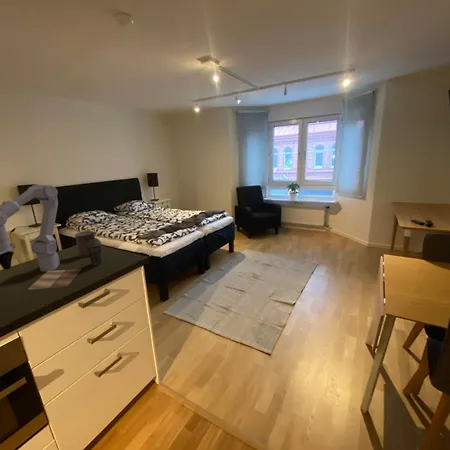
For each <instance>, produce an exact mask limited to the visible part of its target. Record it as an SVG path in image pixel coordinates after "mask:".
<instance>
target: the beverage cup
mask: <svg viewBox="0 0 450 450" xmlns="http://www.w3.org/2000/svg"><path fill="white" fill-rule="evenodd" d="M93 232H94V238H91V239H90V240H88V242H87V249H88V251H89V255H90V257H89V258H90V262H91V265H92V266H94V267H95V266H97V267H98V266H101V265H102V264H103V253H102V252H103V251H102V249H103V248H102V247H103V243H102V241H101V240H100V239H99V238H97V237H96V230H95V229H93Z"/></svg>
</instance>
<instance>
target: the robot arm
mask: <svg viewBox="0 0 450 450" xmlns="http://www.w3.org/2000/svg"><path fill="white" fill-rule="evenodd" d="M58 193H59V192H58V190H57V188H56V187H55V186H54V185H52V184H36V183H35V184H33V185H32V186H29V187H28V188H27V189H26V190H25V191H24V192H23V193H21V194H20V195H19V196H17V197H16V198H15V199H13V200H7V201H6V200H4V201H2V202H1V203H2V204H0V266H1V268H2V269H3V270H4V271H5V270H10V269H11V268H12V261H13V260H12V258H13V256H14V254H15V253H14V251H13V250H12V249H15V248H16V247H17V246H16V243H10V240H9V237H8V232H7V230H6V223H7V222H8V220H9V219H10V218H11V217H12V216H14V215H15V214H17V213H18V212H19V211H20V208H21V206H23V205H25V204H26V203H28V202H30V201H31V200H33V199H35V198H36V199H38V200H39V201H41V202H42V204H43V205H44V206H43V212H42V218H41V222H40V223H41V224H40V229H39V235H38V236H37V237H35V238H34V241H33V243H32V244H31V251H32V252H33V253H35V255H36V257H37V261H38V265H39V269H40V270H39V271H40V272H45V273H46V272H47V271H55V270H56V269H57V268H58V266H59V265H61V263H60V262H61V261H60V257H59V253H57V252H56V251H57V249H58V248H57V246H58V245H57V240H56V239H55V238H54V236H53V235H54V229H55V225H56V218H57V212H58V206H59V200H58Z"/></svg>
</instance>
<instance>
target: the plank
mask: <svg viewBox="0 0 450 450" xmlns="http://www.w3.org/2000/svg"><path fill="white" fill-rule="evenodd" d="M66 270H67V269H61V270H58V269H57V270H56V269H54V270H51V271H46V272H45V273H43V275H41V276H40V277H39V278H38V279H37V280H36V281H35V282H34V283H32V285H30V286H29V287H28V288H26V290H27V291H35V290H44V289H50V287H51V286H52V285H53V284H54V283H55V282H56V281H57V280H58V279H59V278H60V277H61V276H62V275H63V273H64V272H65V271H66Z"/></svg>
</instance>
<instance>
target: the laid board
mask: <svg viewBox="0 0 450 450" xmlns="http://www.w3.org/2000/svg"><path fill="white" fill-rule="evenodd" d="M65 270H66V271H65V272H64V273H63V274H62V275H61V276H60V277H59V278H58V279H57V280H56V281H55V282H54V283H53V284H52V285H51V286H50V287H49V289H56V288H67V287H68V286H69V285H70V284H71V283H72V281H73V280H74V279H75V277H77V275H78V274H79V273H80V271H81V270H82V268H77V269H75V268H74V269H65Z"/></svg>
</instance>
